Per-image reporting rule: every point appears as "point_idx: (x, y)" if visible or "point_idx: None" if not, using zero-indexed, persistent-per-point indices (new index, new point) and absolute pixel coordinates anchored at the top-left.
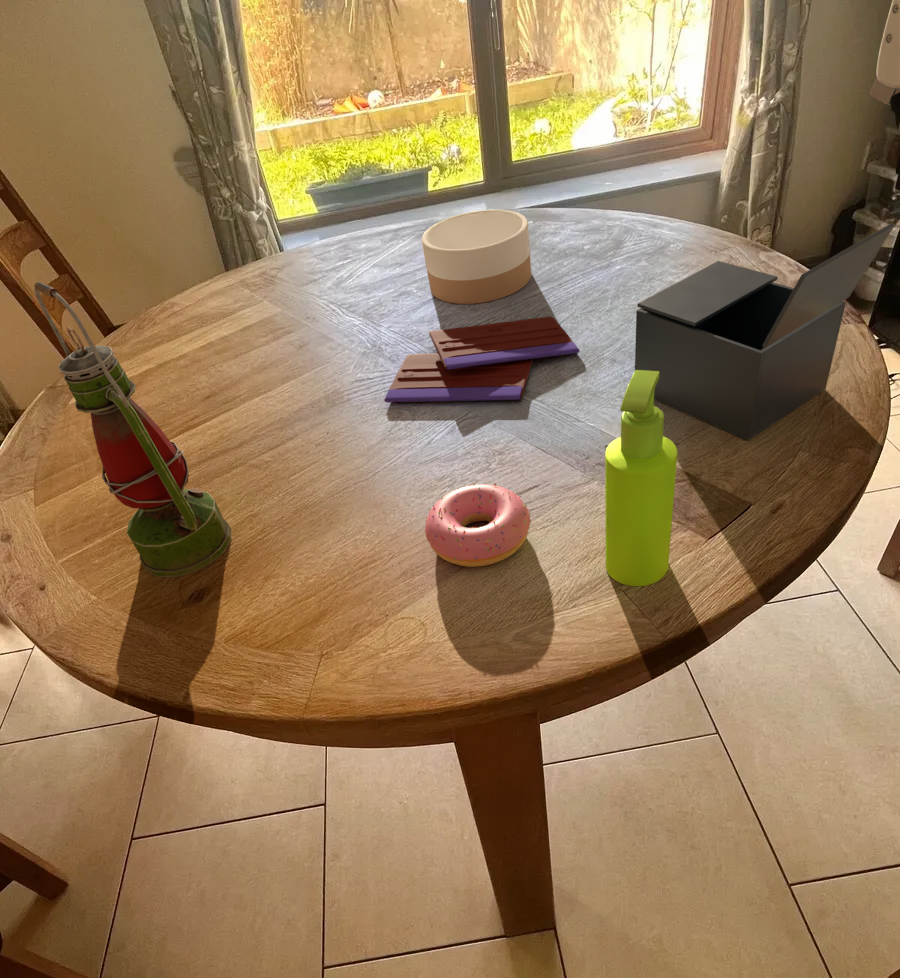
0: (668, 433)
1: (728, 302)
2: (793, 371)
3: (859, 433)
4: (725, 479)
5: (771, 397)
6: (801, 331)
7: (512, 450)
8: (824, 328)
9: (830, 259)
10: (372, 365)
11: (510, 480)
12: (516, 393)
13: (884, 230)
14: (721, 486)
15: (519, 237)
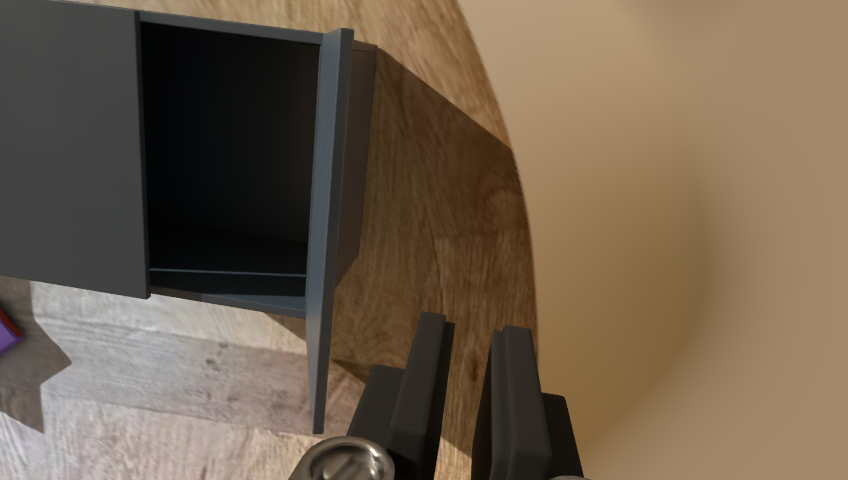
0: None
1: (136, 190)
2: (345, 181)
3: (487, 149)
4: (386, 348)
5: (348, 229)
6: None
7: (119, 427)
8: None
9: (324, 336)
10: None
11: (170, 475)
12: (8, 339)
13: (347, 88)
14: (390, 363)
15: None
